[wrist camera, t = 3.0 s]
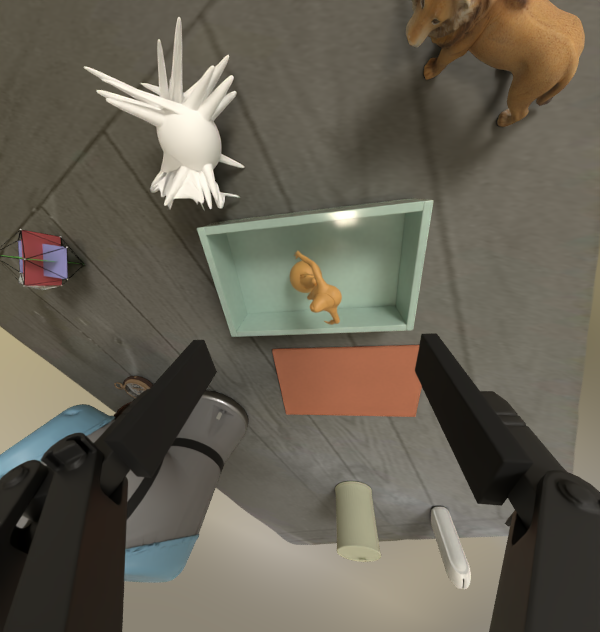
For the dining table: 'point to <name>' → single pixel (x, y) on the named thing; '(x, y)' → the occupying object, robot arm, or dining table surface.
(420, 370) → the robot arm
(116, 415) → the compass
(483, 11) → the lion figurine
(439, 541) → the white curved piece
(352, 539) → the can
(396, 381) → the mat
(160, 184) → the spiky ball
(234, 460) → the dining table surface
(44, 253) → the geometric puzzle
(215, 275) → the basin
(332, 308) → the figurine
